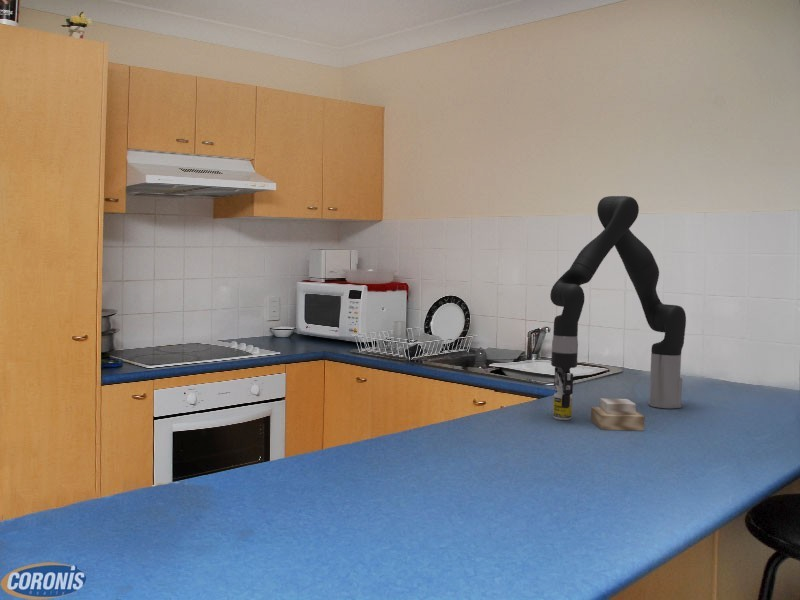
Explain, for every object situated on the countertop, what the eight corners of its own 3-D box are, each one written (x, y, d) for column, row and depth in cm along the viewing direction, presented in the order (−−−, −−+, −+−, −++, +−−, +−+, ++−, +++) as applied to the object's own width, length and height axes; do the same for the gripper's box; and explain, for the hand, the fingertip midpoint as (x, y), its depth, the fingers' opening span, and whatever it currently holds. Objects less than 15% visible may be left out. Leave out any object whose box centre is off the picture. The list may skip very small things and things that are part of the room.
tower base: (631, 421, 231) (632, 397, 230) (644, 430, 219) (645, 405, 218) (590, 420, 231) (591, 396, 230) (601, 429, 219) (602, 405, 218)
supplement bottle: (550, 418, 231) (551, 386, 231) (555, 415, 236) (557, 383, 235) (568, 421, 229) (569, 388, 228) (573, 417, 234) (574, 385, 233)
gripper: (583, 354, 224) (580, 410, 225) (571, 348, 238) (569, 400, 239) (557, 353, 224) (554, 409, 225) (547, 347, 238) (545, 399, 239)
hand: (562, 404), depth 232 cm, fingers open, 8 cm apart
